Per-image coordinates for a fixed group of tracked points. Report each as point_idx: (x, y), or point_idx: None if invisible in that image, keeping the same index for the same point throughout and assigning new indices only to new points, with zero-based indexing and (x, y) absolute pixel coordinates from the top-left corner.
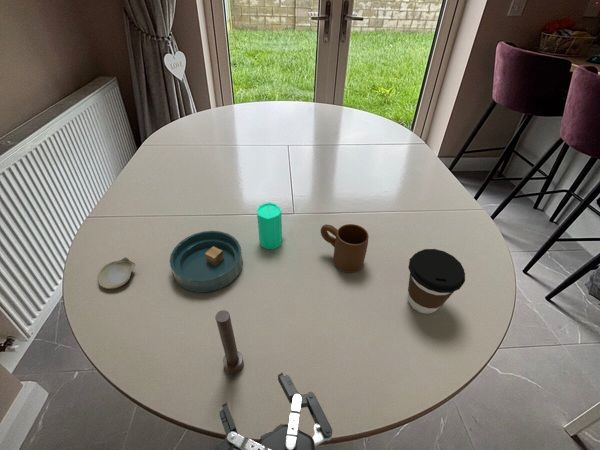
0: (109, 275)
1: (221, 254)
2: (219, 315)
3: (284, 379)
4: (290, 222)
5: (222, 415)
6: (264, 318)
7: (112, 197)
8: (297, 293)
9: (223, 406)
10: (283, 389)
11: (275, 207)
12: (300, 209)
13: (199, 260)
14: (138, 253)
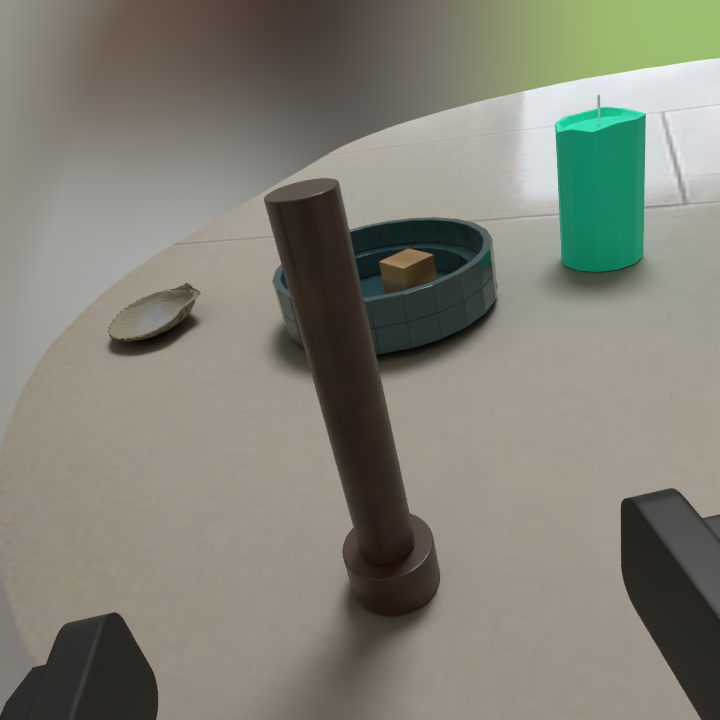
0: (141, 321)
1: (429, 266)
2: (288, 191)
3: (697, 536)
4: (674, 220)
5: (26, 710)
6: (558, 439)
7: (225, 218)
8: (714, 376)
9: (66, 629)
10: (679, 657)
11: (623, 116)
12: (710, 195)
13: (366, 294)
14: (226, 289)
